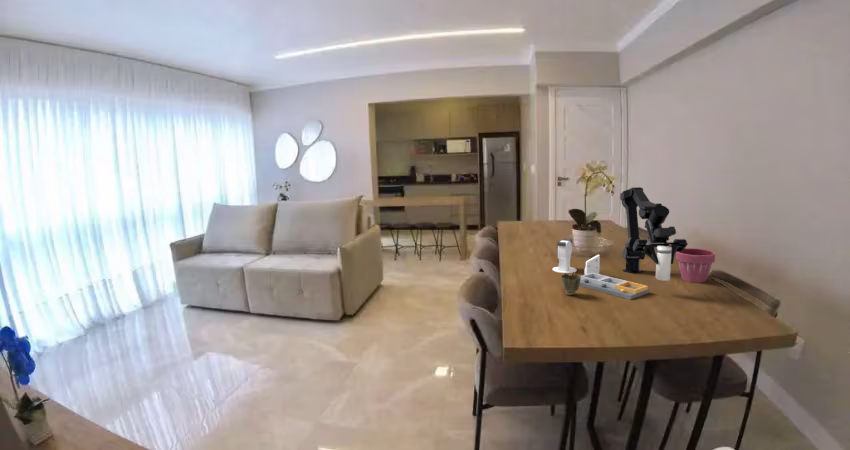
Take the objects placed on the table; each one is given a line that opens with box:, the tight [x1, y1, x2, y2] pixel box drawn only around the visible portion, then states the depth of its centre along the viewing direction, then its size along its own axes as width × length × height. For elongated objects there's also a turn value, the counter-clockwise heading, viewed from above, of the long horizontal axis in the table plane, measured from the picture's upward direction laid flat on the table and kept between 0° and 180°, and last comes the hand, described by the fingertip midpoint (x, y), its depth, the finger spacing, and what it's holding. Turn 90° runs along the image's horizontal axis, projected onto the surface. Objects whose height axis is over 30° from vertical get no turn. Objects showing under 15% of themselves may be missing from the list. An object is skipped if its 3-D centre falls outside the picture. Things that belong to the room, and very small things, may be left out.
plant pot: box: [675, 247, 716, 284], centre depth 180 cm, size 14×14×13 cm
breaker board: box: [579, 273, 650, 301], centre depth 173 cm, size 13×26×3 cm, turn 32°
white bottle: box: [655, 246, 672, 282], centre depth 162 cm, size 5×5×13 cm
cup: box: [560, 273, 582, 296], centre depth 167 cm, size 8×7×8 cm
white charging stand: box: [552, 238, 577, 274], centre depth 203 cm, size 12×11×15 cm
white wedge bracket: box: [583, 254, 601, 275], centre depth 193 cm, size 4×10×9 cm, turn 84°
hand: (664, 263), depth 161 cm, fingers closed on white bottle, 5 cm apart
